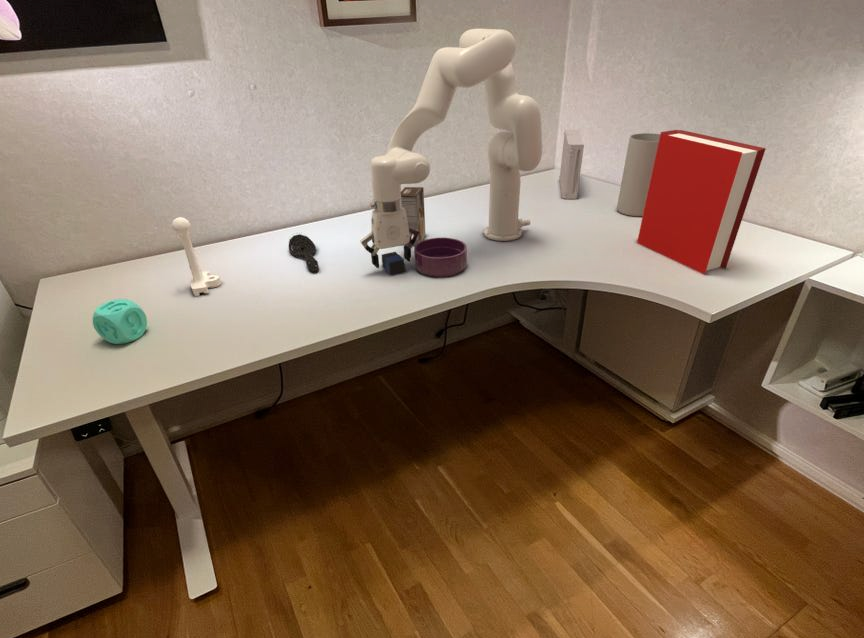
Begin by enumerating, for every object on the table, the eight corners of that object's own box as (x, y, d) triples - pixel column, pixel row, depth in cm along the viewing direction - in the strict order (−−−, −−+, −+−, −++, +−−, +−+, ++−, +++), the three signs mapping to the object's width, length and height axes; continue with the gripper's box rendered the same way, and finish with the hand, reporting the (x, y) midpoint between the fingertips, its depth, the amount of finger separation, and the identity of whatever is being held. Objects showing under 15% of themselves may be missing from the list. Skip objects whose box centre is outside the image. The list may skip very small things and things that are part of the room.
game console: (561, 199, 195) (567, 144, 184) (558, 179, 217) (564, 129, 206) (576, 199, 194) (584, 144, 183) (572, 179, 216) (578, 129, 205)
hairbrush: (299, 267, 144) (284, 234, 162) (302, 278, 146) (286, 244, 165) (328, 261, 147) (309, 229, 165) (329, 272, 149) (311, 240, 167)
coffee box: (407, 234, 170) (404, 186, 161) (426, 235, 169) (424, 186, 160) (400, 244, 163) (397, 195, 153) (420, 245, 162) (417, 195, 152)
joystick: (195, 279, 146) (172, 212, 134) (222, 276, 148) (202, 208, 136) (191, 297, 137) (166, 226, 126) (219, 292, 139) (198, 222, 127)
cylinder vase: (609, 209, 184) (621, 136, 170) (635, 203, 188) (649, 131, 174) (633, 219, 175) (649, 143, 160) (660, 213, 179) (678, 138, 164)
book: (725, 268, 141) (765, 148, 123) (704, 274, 139) (742, 152, 120) (653, 236, 162) (678, 129, 143) (634, 241, 159) (657, 132, 141)
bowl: (452, 252, 156) (452, 234, 153) (475, 271, 145) (476, 251, 141) (407, 262, 151) (406, 243, 148) (427, 282, 140) (427, 262, 137)
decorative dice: (126, 325, 126) (113, 296, 121) (152, 329, 124) (140, 300, 119) (100, 342, 120) (86, 312, 115) (127, 346, 118) (114, 317, 113)
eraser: (396, 263, 151) (395, 251, 149) (405, 272, 146) (404, 259, 144) (382, 266, 150) (381, 254, 147) (390, 275, 144) (389, 262, 142)
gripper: (361, 213, 131) (368, 274, 141) (422, 203, 137) (424, 262, 146) (353, 205, 137) (359, 264, 146) (411, 196, 142) (414, 253, 152)
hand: (392, 263), depth 146 cm, fingers open, 9 cm apart
